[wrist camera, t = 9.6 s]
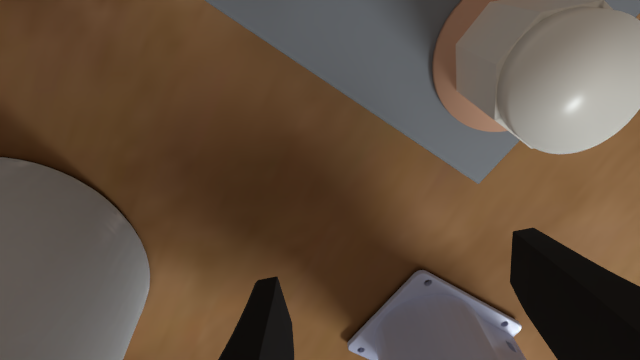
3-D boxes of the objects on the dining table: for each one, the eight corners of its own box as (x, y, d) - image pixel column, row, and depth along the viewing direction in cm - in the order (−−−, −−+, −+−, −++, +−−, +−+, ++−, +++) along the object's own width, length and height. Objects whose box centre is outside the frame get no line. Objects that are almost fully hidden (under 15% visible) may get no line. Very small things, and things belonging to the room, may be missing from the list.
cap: (574, -15, 17) (673, -7, 13) (562, 100, 19) (642, 141, 15) (454, 8, 17) (511, 24, 13) (456, 120, 20) (505, 166, 15)
